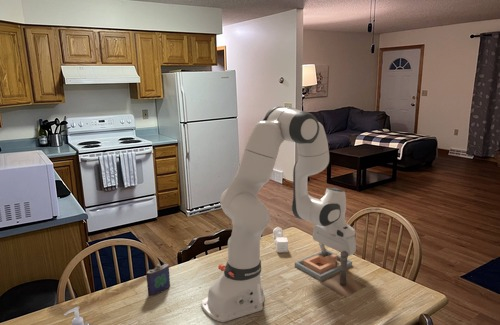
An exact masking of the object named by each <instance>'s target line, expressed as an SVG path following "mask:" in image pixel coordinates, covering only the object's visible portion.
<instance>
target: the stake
mask: <svg viewBox="0 0 500 325" xmlns="http://www.w3.org/2000/svg"><path fill="white" fill-rule="evenodd" d="M340 256H341V262H340V265H341V271H339V272H338V273H337V274H335V275H332V276H330V277H329V278H326V279H324V280H321V282H320V283H319V284H321V285H322V286H324V287H326V288H328V289H329V290H331V291H333V292H335V293H336V294H339V295H340V296H342V297H344V298H348V297H349V296H351V295H353V294H355V293H357V292H359V291H360V290H362V289H364V288H365V287H367V285H365V284H363V283H362V282H359V281H357V280H356V279H353V278H351V277H350V276H348V275H347V273H348V272H347V270H348V267H347V259H348V257H349V256H348V252H346V251H342V252H340Z"/></svg>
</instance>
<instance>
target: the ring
mask: <svg viewBox="0 0 500 325" xmlns="http://www.w3.org/2000/svg"><path fill="white" fill-rule="evenodd" d="M336 262H338V260H337V256H336V255H334V254H332V255H330V256H328V255H327V256H324V255H323V256H321V255H319V254H318V255H316V256H314V257H311V258H309V259H306V260H304V264H303V266H305V267H307V268H309V269H311V270H313V271H314V272H316V273H318V274H320V275H321V274H323V273H325V272H327V271H329V270H331V269H334V268H336ZM318 264H321V265H320V266H319V265H318Z"/></svg>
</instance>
